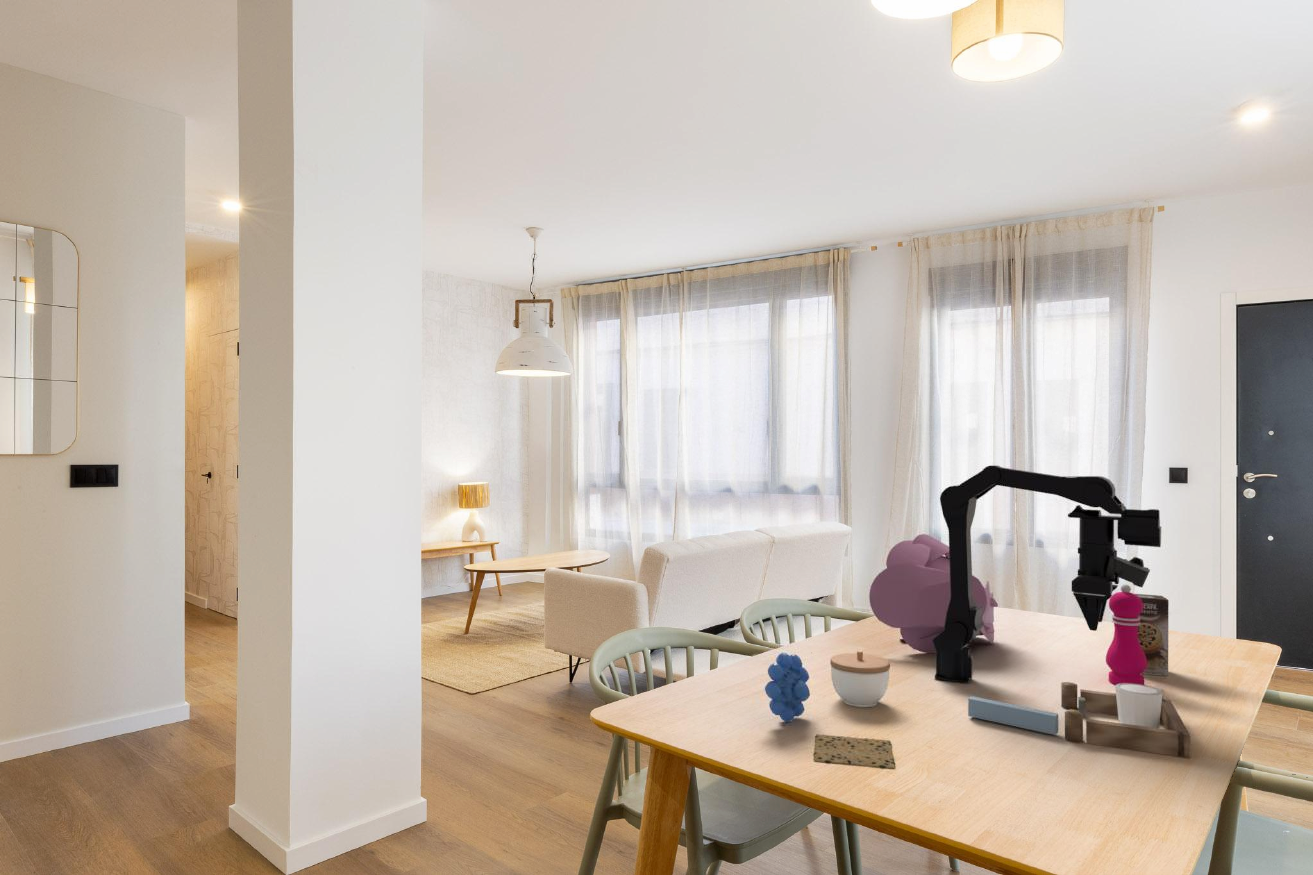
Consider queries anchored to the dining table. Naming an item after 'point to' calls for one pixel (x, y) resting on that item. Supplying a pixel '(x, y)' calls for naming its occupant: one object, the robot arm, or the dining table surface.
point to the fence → (1118, 734)
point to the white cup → (1138, 704)
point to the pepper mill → (1126, 639)
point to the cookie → (853, 751)
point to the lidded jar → (860, 678)
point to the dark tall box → (1154, 633)
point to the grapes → (787, 686)
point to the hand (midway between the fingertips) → (1096, 625)
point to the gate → (1013, 715)
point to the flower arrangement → (922, 593)
